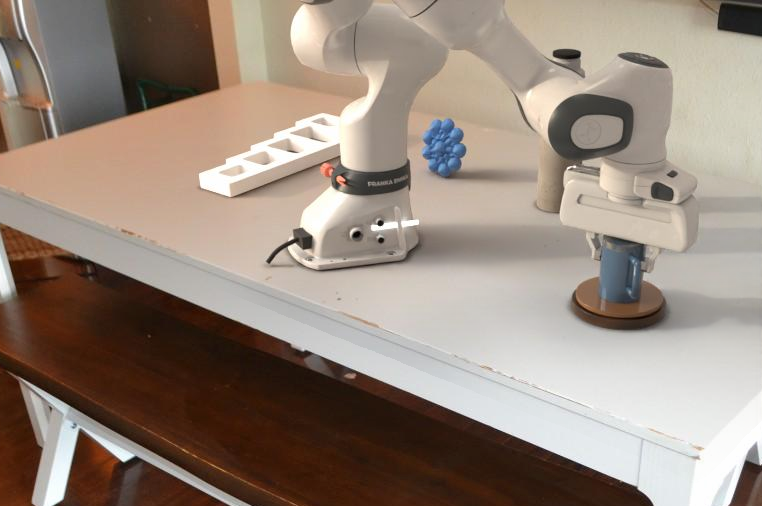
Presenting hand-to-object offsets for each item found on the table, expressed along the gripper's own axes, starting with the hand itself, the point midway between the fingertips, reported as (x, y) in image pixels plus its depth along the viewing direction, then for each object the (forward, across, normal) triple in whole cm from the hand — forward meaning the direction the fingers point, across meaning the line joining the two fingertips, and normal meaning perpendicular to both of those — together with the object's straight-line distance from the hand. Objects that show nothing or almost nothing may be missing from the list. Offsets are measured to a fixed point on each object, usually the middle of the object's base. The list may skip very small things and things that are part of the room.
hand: (622, 265), depth 145 cm
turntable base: (+7, 0, 0) cm, 7 cm away
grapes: (+7, -54, +36) cm, 65 cm away
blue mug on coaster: (+5, 0, 0) cm, 5 cm away
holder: (+7, -89, +26) cm, 93 cm away
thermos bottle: (+7, -27, +33) cm, 43 cm away
